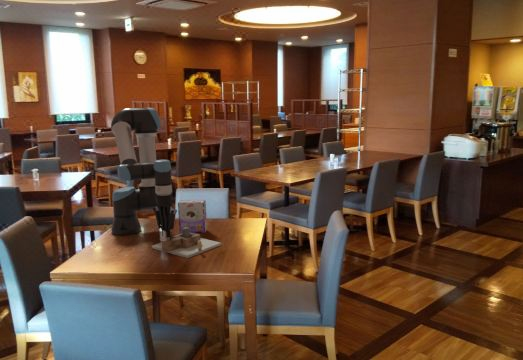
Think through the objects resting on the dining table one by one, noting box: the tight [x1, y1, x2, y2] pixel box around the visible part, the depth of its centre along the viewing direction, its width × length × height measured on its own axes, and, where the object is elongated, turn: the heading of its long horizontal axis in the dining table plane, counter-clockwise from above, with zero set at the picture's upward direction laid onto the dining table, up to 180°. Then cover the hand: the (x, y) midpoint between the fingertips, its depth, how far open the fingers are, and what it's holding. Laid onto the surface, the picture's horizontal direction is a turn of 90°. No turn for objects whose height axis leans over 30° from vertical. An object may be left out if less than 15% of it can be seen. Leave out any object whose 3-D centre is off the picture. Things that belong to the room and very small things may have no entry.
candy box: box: [177, 199, 208, 234], centre depth 243 cm, size 14×6×16 cm, turn 84°
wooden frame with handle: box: [161, 233, 201, 253], centre depth 215 cm, size 18×9×4 cm, turn 143°
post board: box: [151, 227, 222, 259], centre depth 218 cm, size 24×22×9 cm
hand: (166, 243), depth 216 cm, fingers closed
